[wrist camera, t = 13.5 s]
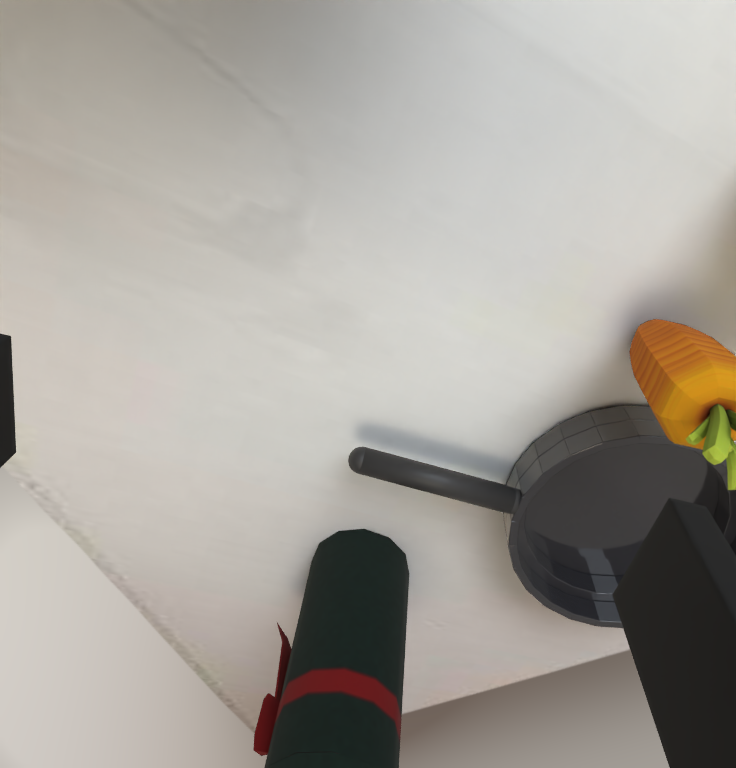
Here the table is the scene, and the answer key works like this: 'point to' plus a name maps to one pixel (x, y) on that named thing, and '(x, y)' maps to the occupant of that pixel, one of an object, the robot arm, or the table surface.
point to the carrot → (689, 388)
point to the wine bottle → (342, 661)
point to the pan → (602, 506)
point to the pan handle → (434, 480)
